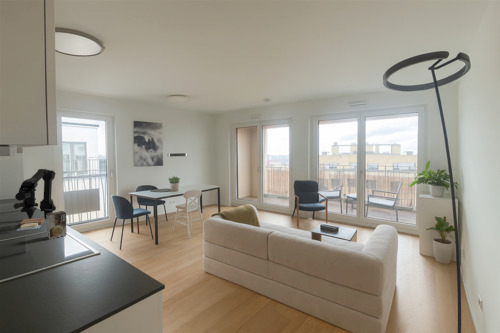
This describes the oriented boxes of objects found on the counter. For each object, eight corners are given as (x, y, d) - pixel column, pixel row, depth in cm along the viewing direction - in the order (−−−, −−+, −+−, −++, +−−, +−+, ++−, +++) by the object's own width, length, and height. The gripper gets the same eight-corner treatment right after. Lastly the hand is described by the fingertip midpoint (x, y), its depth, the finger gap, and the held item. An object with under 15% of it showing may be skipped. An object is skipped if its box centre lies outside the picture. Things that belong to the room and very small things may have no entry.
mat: (19, 227, 171) (19, 227, 171) (41, 225, 177) (41, 225, 177) (16, 231, 164) (16, 230, 164) (38, 228, 171) (38, 228, 171)
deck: (24, 222, 182) (24, 219, 182) (44, 221, 188) (44, 217, 188) (19, 227, 171) (19, 223, 171) (41, 225, 177) (41, 221, 177)
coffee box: (63, 233, 162) (62, 210, 161) (66, 235, 159) (66, 212, 158) (46, 237, 155) (45, 213, 154) (49, 239, 151) (49, 214, 150)
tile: (23, 226, 172) (23, 224, 172) (37, 225, 176) (37, 222, 176) (20, 229, 167) (20, 226, 167) (35, 227, 171) (35, 225, 171)
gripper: (18, 196, 176) (18, 217, 177) (10, 201, 160) (10, 223, 161) (38, 195, 182) (38, 215, 183) (32, 199, 166) (32, 221, 167)
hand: (30, 218), depth 173 cm, fingers closed
